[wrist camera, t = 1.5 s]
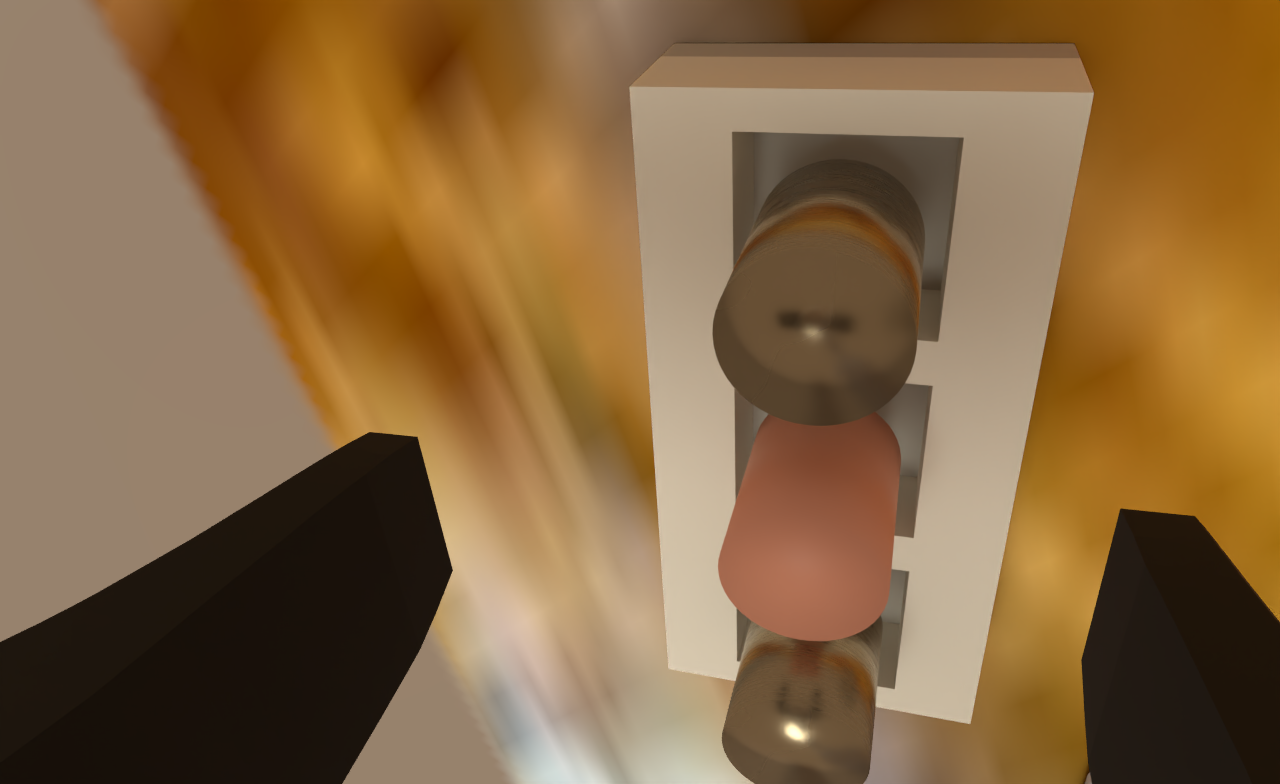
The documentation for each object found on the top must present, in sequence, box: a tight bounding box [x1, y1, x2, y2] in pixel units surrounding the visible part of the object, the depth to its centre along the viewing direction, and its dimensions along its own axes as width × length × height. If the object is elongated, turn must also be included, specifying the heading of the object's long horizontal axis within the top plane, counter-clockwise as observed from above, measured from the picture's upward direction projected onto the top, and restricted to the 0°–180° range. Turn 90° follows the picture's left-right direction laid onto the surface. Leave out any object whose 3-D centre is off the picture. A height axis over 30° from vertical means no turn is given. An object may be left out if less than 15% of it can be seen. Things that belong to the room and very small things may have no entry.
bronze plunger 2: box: [722, 615, 883, 784], centre depth 19 cm, size 3×3×4 cm
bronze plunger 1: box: [712, 159, 925, 426], centre depth 14 cm, size 3×3×4 cm
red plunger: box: [718, 412, 901, 641], centre depth 17 cm, size 3×3×4 cm
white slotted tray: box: [629, 43, 1094, 724], centre depth 19 cm, size 7×14×3 cm, turn 5°
